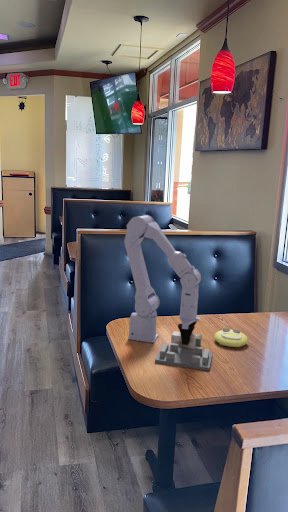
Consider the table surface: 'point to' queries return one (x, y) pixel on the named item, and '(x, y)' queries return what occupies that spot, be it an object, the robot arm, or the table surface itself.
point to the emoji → (231, 338)
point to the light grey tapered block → (194, 341)
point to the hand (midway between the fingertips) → (186, 342)
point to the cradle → (184, 357)
